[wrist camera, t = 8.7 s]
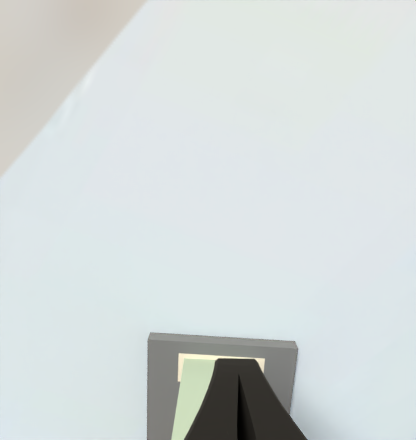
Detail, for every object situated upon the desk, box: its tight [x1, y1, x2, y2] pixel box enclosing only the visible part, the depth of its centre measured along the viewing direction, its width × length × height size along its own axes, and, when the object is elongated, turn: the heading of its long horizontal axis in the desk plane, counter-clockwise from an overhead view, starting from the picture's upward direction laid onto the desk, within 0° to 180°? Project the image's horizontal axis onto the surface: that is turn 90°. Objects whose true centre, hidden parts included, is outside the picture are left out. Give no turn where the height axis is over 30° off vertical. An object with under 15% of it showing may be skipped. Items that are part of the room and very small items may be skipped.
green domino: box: [171, 358, 259, 440], centre depth 16 cm, size 2×5×10 cm, turn 88°
